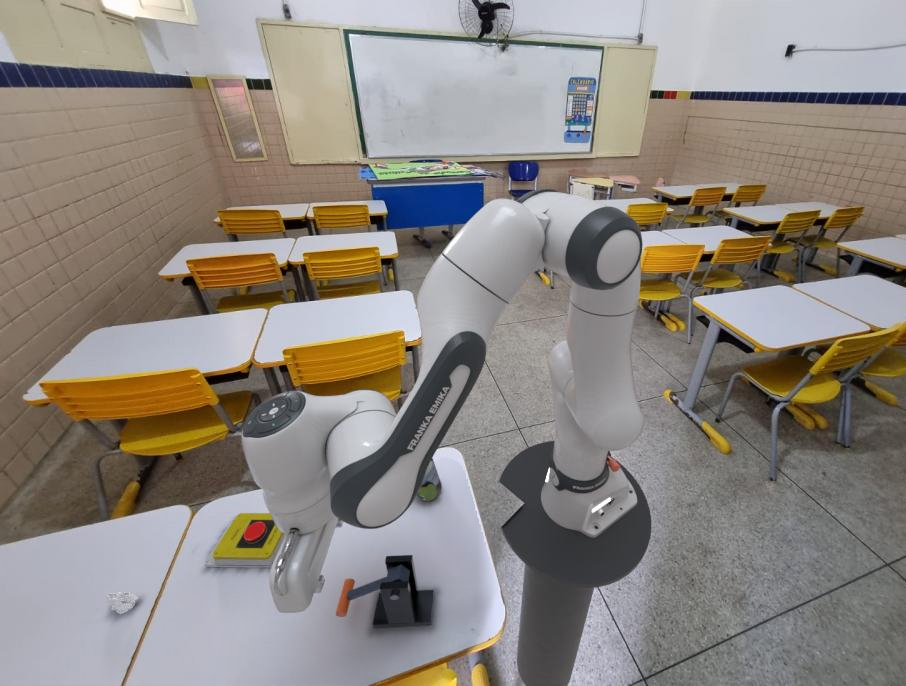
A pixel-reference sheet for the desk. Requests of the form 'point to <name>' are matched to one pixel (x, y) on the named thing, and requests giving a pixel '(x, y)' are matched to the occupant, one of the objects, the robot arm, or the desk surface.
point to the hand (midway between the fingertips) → (328, 553)
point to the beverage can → (430, 483)
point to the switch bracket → (403, 599)
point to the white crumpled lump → (118, 600)
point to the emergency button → (247, 542)
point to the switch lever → (368, 588)
